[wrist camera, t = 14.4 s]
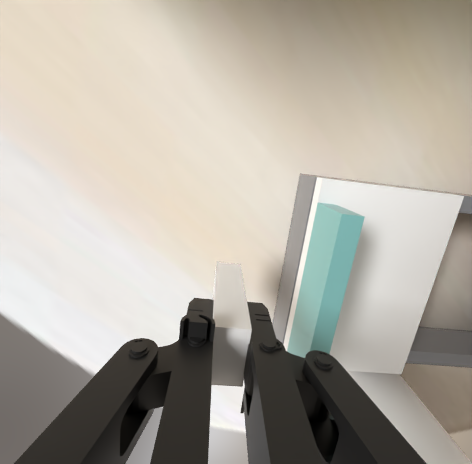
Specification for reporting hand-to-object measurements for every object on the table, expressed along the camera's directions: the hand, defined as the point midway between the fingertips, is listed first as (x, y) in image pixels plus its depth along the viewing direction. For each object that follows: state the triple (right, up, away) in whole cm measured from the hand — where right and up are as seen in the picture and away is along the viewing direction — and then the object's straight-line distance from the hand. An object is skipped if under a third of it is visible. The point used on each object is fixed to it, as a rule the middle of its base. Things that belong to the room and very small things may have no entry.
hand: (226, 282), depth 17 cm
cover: (+10, 0, +3) cm, 10 cm away
